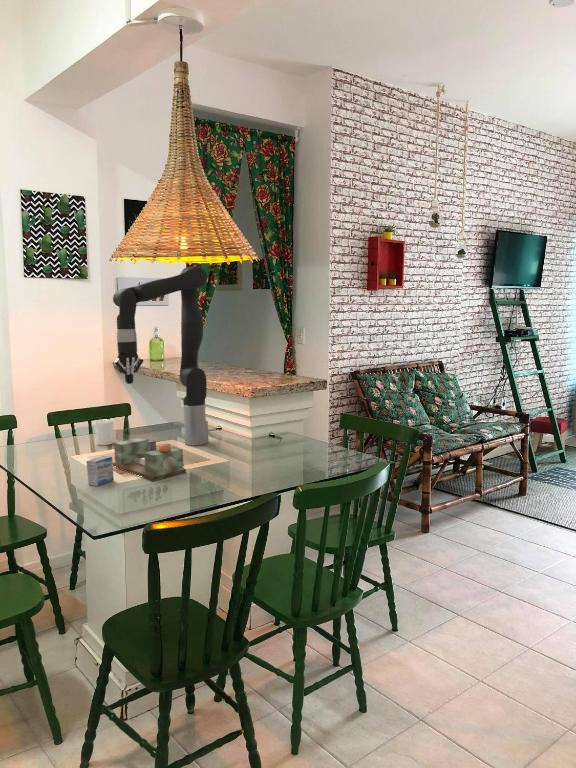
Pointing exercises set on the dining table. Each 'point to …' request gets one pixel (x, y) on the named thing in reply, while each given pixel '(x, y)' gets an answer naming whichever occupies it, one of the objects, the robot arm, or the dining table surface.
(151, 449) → the carriage
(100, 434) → the white cup
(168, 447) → the button
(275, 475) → the dining table surface
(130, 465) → the rail stand
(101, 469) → the medicine box
